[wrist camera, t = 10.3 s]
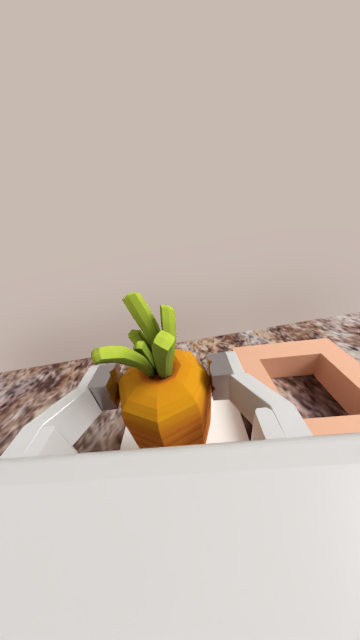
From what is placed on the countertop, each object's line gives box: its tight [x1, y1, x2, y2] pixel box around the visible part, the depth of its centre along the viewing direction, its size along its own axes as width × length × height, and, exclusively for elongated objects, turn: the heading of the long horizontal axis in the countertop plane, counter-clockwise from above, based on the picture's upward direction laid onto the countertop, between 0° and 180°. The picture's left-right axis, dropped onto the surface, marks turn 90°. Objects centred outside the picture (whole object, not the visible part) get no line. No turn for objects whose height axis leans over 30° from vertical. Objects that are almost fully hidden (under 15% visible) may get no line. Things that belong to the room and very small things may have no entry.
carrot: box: [91, 292, 211, 449], centre depth 10 cm, size 5×5×15 cm
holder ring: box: [232, 338, 360, 436], centre depth 17 cm, size 12×12×4 cm
